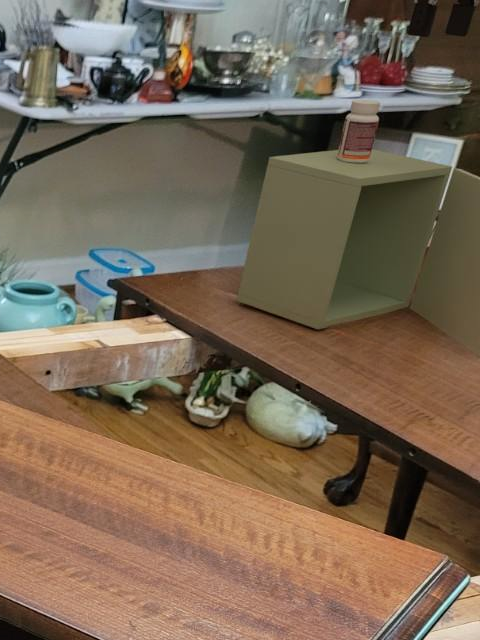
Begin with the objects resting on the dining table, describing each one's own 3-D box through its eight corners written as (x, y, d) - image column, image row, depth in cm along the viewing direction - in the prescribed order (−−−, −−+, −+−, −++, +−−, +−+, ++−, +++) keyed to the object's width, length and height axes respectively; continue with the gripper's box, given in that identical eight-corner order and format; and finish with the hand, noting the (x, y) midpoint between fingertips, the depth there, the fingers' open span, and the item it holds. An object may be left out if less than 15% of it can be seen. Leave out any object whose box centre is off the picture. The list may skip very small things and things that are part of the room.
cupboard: (407, 308, 183) (452, 166, 171) (317, 329, 170) (359, 178, 158) (326, 282, 193) (363, 147, 181) (236, 300, 181) (269, 156, 169)
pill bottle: (375, 162, 169) (390, 103, 164) (349, 163, 167) (363, 104, 163) (355, 156, 173) (369, 98, 168) (330, 157, 171) (343, 99, 167)
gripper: (468, -107, 143) (427, 39, 153) (536, -100, 152) (493, 38, 161) (417, -109, 149) (379, 33, 158) (485, -102, 157) (446, 32, 167)
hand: (437, 35), depth 160 cm, fingers open, 9 cm apart
